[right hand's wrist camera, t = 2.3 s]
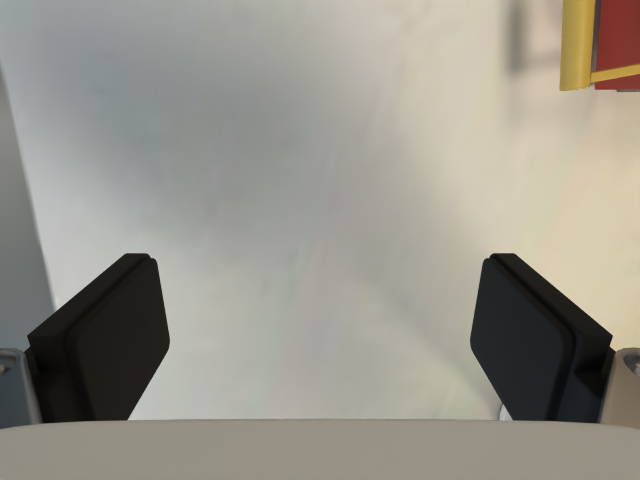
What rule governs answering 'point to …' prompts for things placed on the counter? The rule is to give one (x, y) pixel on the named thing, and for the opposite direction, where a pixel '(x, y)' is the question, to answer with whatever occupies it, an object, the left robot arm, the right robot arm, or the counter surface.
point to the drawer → (600, 45)
